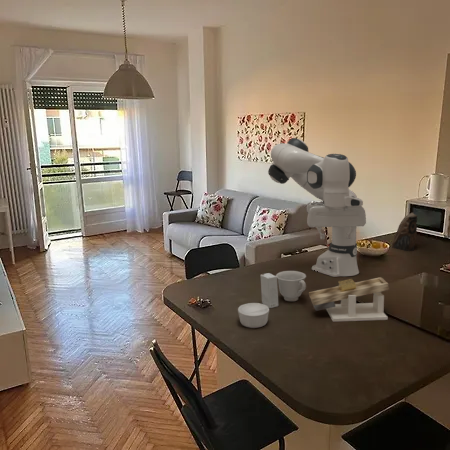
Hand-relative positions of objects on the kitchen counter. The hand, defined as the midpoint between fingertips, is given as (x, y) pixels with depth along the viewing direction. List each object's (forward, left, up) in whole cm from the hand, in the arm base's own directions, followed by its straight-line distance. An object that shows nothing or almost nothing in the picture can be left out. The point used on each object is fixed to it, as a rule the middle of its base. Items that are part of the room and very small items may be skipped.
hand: (335, 238), depth 147 cm
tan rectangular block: (+5, +1, -19) cm, 19 cm away
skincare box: (-22, -11, -28) cm, 37 cm away
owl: (-17, +103, -28) cm, 108 cm away
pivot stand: (+6, +3, -28) cm, 28 cm away
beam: (+5, +1, -22) cm, 23 cm away
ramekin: (-16, -27, -28) cm, 42 cm away
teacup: (-18, -1, -28) cm, 33 cm away
